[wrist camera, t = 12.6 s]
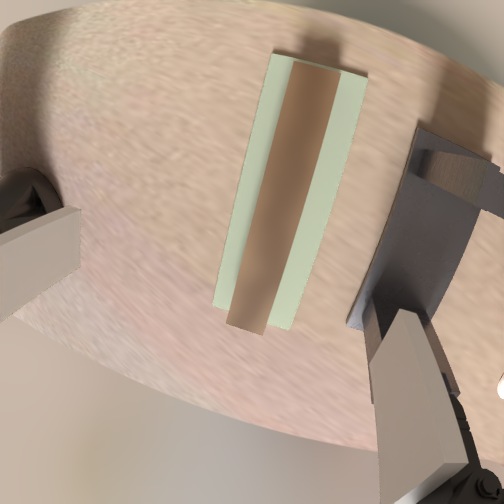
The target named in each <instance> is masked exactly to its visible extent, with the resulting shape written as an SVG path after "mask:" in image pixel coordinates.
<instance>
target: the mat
mask: <svg viewBox="0 0 504 504" xmlns="http://www.w3.org/2000/svg"><path fill="white" fill-rule="evenodd" d="M294 61H297V62H302V63H306V64H310V65H314V66H318V67H321V68H325V69H329V70H332V71H336V72H339V73H341V77H340V80H339V84H338V88H337V92H336V96H335V99H334V103H333V107H332V111H331V114H330V118H329V122H328V125H327V129H326V132H325V136H324V140H323V143H322V147H321V150H320V154H319V157H318V161H317V164H316V168H315V171H314V175H313V178H312V181H311V185H310V188H309V192H308V195H307V198H306V202H305V205H304V208H303V212H302V215H301V218H300V221H299V225H298V228H297V231H296V234H295V238H294V241H293V244H292V247H291V250H290V254H289V257H288V260H287V263H286V266H285V269H284V272H283V276H282V279H281V282H280V285H279V288H278V291H277V294H276V297H275V300H274V303H273V306H272V309H271V312H270V315H269V318H268V321H267V324H269V325H272V326H276V327H279V328H282V329H285V330H288V331H289V330H290V327H291V324H292V322H293V319H294V316H295V314H296V311H297V308H298V306H299V303H300V300H301V297H302V295H303V292H304V289H305V286H306V284H307V281H308V278H309V275H310V272H311V269H312V267H313V264H314V261H315V258H316V255H317V252H318V249H319V246H320V243H321V240H322V237H323V234H324V231H325V228H326V225H327V222H328V219H329V216H330V213H331V209H332V206H333V203H334V200H335V197H336V194H337V190H338V187H339V184H340V180H341V177H342V174H343V170H344V167H345V164H346V160H347V157H348V153H349V150H350V146H351V143H352V139H353V136H354V132H355V129H356V125H357V121H358V117H359V114H360V110H361V106H362V102H363V98H364V94H365V91H366V87H367V83H368V78H365V77H362V76H359V75H356V74H353V73H350V72H346V71H343V70H340V69H336V68H332V67H329V66H325V65H321V64H318V63H314V62H310V61H305V60H301V59H297V58H292V57H288V56H283V55H278V54H273V53H272V54H271V58H270V62H269V66H268V69H267V73H266V77H265V81H264V85H263V89H262V93H261V96H260V100H259V104H258V108H257V112H256V116H255V120H254V124H253V128H252V132H251V136H250V140H249V145H248V149H247V153H246V157H245V161H244V165H243V169H242V174H241V178H240V182H239V186H238V191H237V195H236V199H235V204H234V208H233V212H232V217H231V221H230V225H229V230H228V234H227V239H226V243H225V248H224V252H223V257H222V262H221V266H220V271H219V275H218V280H217V285H216V289H215V294H214V299H213V304H212V306H215V307H218V308H221V309H224V310H227V311H229V309H230V305H231V301H232V297H233V293H234V289H235V285H236V281H237V277H238V273H239V269H240V266H241V262H242V258H243V254H244V250H245V246H246V242H247V238H248V234H249V230H250V226H251V222H252V218H253V215H254V211H255V207H256V203H257V199H258V195H259V191H260V187H261V184H262V180H263V176H264V172H265V168H266V164H267V160H268V157H269V153H270V149H271V145H272V141H273V138H274V134H275V130H276V126H277V122H278V118H279V115H280V111H281V107H282V103H283V100H284V96H285V92H286V88H287V84H288V81H289V77H290V73H291V69H292V66H293V62H294Z"/></svg>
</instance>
